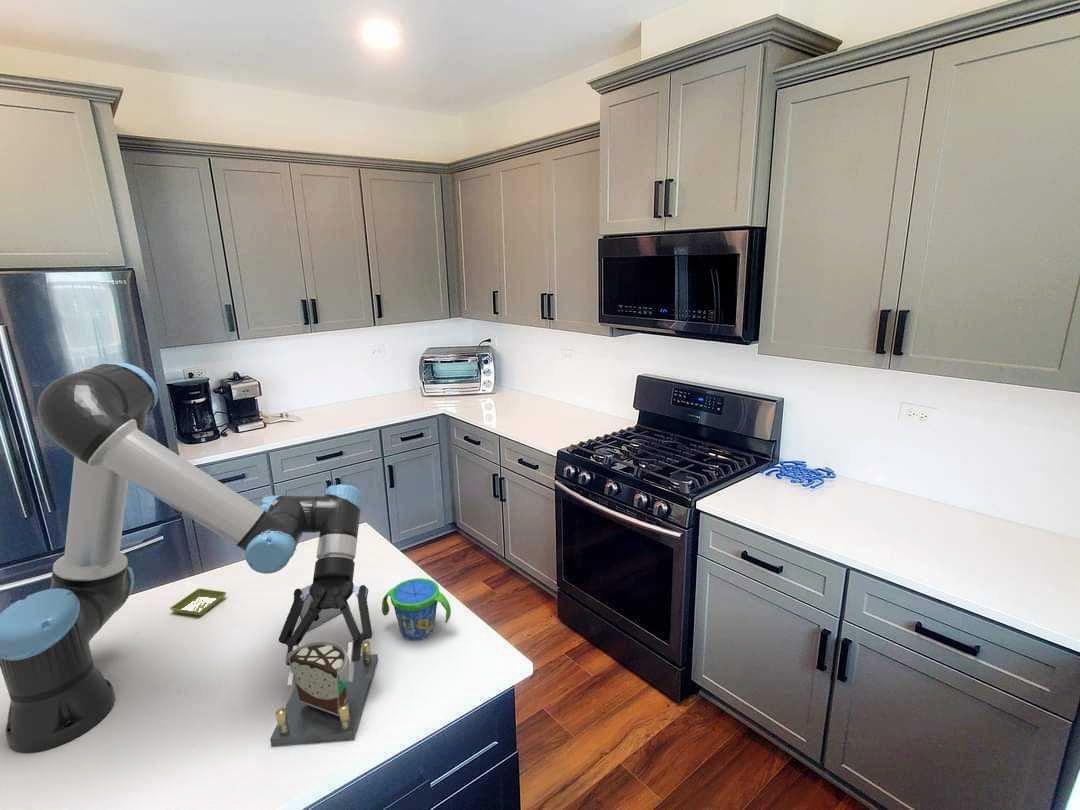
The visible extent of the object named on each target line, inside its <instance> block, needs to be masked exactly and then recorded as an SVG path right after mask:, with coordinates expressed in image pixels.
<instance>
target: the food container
mask: <svg viewBox="0 0 1080 810" xmlns="http://www.w3.org/2000/svg"><path fill="white" fill-rule="evenodd" d="M299 646H300V647H298V648H296V649H295V650H293V651H291V652H290V653H289V654H288V657H287V656H286V657H287V663H290V666H289V668H290V667H291V671H292V673H294V682H295V686H294V688H296V692H297V696H298V700H299V702H301V703H304V704H307V705H310V706H312V707H315V708H318V709H320V710H323V711H326V712H328V713H331V714H334V715H337V716H339V709H338V707H339V706H340V705H341V704H343V703H346V700H347V694H346V674H347V672H348V670H349V667H350V661H349V658H348V655H347V653H348V652H347V651H346V650H345V649H344V647H343V646H342V645H341V644H339V643H337V642H335V641H331V640H317V641H313V642H309V643H306V644H303V645H299Z"/></svg>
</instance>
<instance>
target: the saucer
mask: <svg viewBox="0 0 1080 810" xmlns="http://www.w3.org/2000/svg"><path fill="white" fill-rule="evenodd" d="M226 595H227V591H222V590H215V589H214V590H213V589H206V588H197V589H195V590H194V591H192V592H191V593H190V594H188V595H187V596H185V597H184V598H183V599H181V600H179V601H178V602H176V603H175V604H174V605H172V606H171V607H170V608H169V609H170V610H172V611H173V612H176V613H178V612H179V613H178V614H184V613H186V614H185V615H191V614H193V615H192V616H198V615H200V616H203V614H205V613H206V612H207V611H209V610H210V609H211V607H212V606H213V607H215V606H216V605H217V604H218V603H220V602H221V601H222V600H223V599H224V597H225V596H226ZM198 597H209V598H216V600H215V601H213V602H212V603H211V604H210V603H209V604H208V605H207V607H205V608H204V606H205V604H207V603H206V602H205V603H204V604H203V605H202V606H201V604H202V603H201V604H200V605H199V606H198V608H197V609H196V611H194V610H195V608H196V607H195V608H194V610H193V611H188V610H181V609H182V608H184V607H185V606H187V605H188V604H190V603H191V602H192V601H196V599H197V598H198ZM199 599H200V598H199ZM202 601H203V600H202ZM219 601H220V602H219ZM198 602H199V601H198ZM198 602H197V603H198ZM197 603H196V604H197ZM216 603H217V604H216ZM193 604H194V603H193ZM215 604H216V605H215ZM213 607H212V608H213ZM199 608H202V610H201V611H200V612H198V611H199ZM208 609H209V610H208ZM204 612H205V613H204Z"/></svg>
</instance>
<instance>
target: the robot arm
mask: <svg viewBox="0 0 1080 810" xmlns="http://www.w3.org/2000/svg"><path fill="white" fill-rule="evenodd" d="M158 400H159V391H158V386H157V385H156V382H155V381H154V379H153V378H152V377H151V376H150V375H149V374H148V373H147V372H146V371H145V370H144V369H141V368H140V367H138V366H137V365H133V364H131V363H126V362H111V363H107V362H106V363H101V364H97V365H95V366H93V367H91V368H88V369H84V370H82V371H79V372H75V373H71V374H66V375H63V376H61V377H59V378H56V379H55V380H53V381H52V382H50V383H49V384H48V385H47V386H46V387H45V388H44V389H43V390H42V393H41V394H40V396H39V399H38V402H37V408H36V409H37V412H36V413H37V416H38V420H39V423H40V425H41V426H42V428H43V430H44V431H45V433H46V434H47V436H49V437H50V438H51V439H52V440H53V441H54V442H55V443H56V444H57V445H58V446H59V447H61V448H63V449H64V450H65V451H66V452H67V453H68V454H70V455H72V456H73V466H72V468H73V469H72V474H71V475H72V477H71V485H70V487H71V488H70V495H69V496H70V498H69V507H68V516H67V517H68V518H67V525H66V537H65V538H66V539H65V544H64V545H65V548H64V555H62V556H60V557H59V558H58V559H57V560H56V561H55V562H54V563H53V566H52V573H51V580H50V581H51V582H50V583H51V584H50V588H49V589H44V590H41V591H37V592H34V593H32V594H29V595H27V596H26V598H24V599H18V600H17V601H15V602H14V603H12V604H10V605H9V606H8V607H6V608H5V609H4V610H3V611H1V613H0V670H1V674H2V676H3V680H4V682H5V686H6V689H7V692H8V695H9V699H10V703H9V709H8V715H7V724H6V727H5V735H6V740H7V743H8V745H9V747H10V748H11V749H13V750H14V751H16V752H20V753H33V752H41V751H46V750H48V749H52V748H55V747H58V746H60V745H64V744H65V743H68V742H70V741H72V740H74V739H76V738H77V737H80V736H82V735H83V734H85V733H86V732H88V731H89V730H91V729H92V728H94V727H95V726H96V725H97V724H99V723H100V722H101V721H102V720H103V719H104V718H105V717H106V716H107V715H108V713H110V711H111V710H112V709H113V706H114V705H115V701H116V696H115V695H116V694H115V691H114V687H113V685H112V683H111V682H110V681H109V680H108V679H107V678H105V677H104V675H103V674H102V673H101V671H100V669H99V668H97V667H96V666H95V663H94V660H93V655H92V650H91V648H90V647H91V646H90V641H92V639H93V638H94V637H95V635H96V634H97V633H99V631H100V630H101V629H102V628H103V626H105V625H106V623H107V622H108V621H109V620H110V619H111V618H112V616H113V615H114V614H115V613H116V612H118V611H119V610H120V609H121V608H122V607H123V606H124V604H125V603H127V602H126V601H127V600H128V599H129V596H130V595H131V593H132V591H133V589H134V585H135V574H134V571H133V569H132V567H129V565H128V557H127V556H126V554H124V553H122V552H121V547H122V546H121V545H122V536H123V528H124V521H125V513H126V512H125V511H126V503H127V493H128V486H129V482H130V483H132V484H133V485H135V486H136V487H138V488H139V489H142V490H144V491H145V492H146V493H149V494H150V495H152V496H153V497H155V498H156V499H158V500H160V501H162V502H163V503H165V504H166V505H168V506H170V507H171V508H173V509H175V510H177V511H179V512H180V513H182V514H183V515H185V516H187V517H189V518H190V519H192V520H193V521H194V522H197V523H198V524H200V525H201V526H203V527H204V528H207V529H208V530H210V531H212V532H213V533H215V534H217V535H218V536H220V537H222V538H223V539H225V540H226V541H228V542H230V543H232V544H234V545H235V546H236V547H238V548H240V549H241V550H243V551H244V556H245V561H246V563H247V564H248V566H249V567H250V569H251V570H252V571H255V572H257V573H260V574H267V575H268V574H275V573H277V572H279V571H281V570H283V569H284V568H285V567H286V566H287V565H288V564H289V561H290V560H291V559H292V558H293V557H294V554H295V553H296V550H297V546H298V543H299V541H300V539H301V537H302V536H303V533H306V534H309V533H314V534H315V533H316V534H317V533H319V535H318V544H317V551H316V561H315V564H314V569H313V570H314V572H313V578H312V579H313V580H312V583H311V584H312V585H311V584H310V585H311V587H310V588H309V589H303V590H300V589H301V588H296V589H294V592H293V593H294V594H293V602H292V604H291V606H290V609H289V612H288V614H287V617H286V620H285V622H284V624H283V627H282V629H281V631H280V635H279V637H278V642H279V643H281V644H284V645H286V646H287V651H286V652H287V653H286V658H285V665H286V666H288V667H289V673H288V679H287V686H290V687H295V682H294V673H292V671H291V667H290V663H287V657H288V654H289V653H290V652H291V651H293V650H295V649H296V648H298V647H300V646H301V645H300V643H301V641H302V640H303V639H304V637H305V636H306V634H307V632H308V631H309V630H308V629H309V628H310V626H311V624H312V623H313V621H314V620H315V618H316V616H317V615H318V614H319V613H320V612H321V610H322V609H323V610H324V609H330V608H334V609H339V608H340V610H341V614H342V617H343V619H344V621H345V624H346V626H347V628H348V631H349V633H350V635H351V639H352V641H353V642H352V641H351V642H348V644H347V652H346V653H347V655H348V658H349V661H350V667H349V670H348V672H347V674H346V682H353V672H354V662H357V661H359V660H360V655H362V653H361V652H362V646H361V645H362V642H364V641H368V640H371V639H372V638H373V632H372V631H373V630H372V624H371V618H370V612H369V611H370V610H369V606H368V595H369V588H368V587H367V586H366V585H365V584H361V585H360V586H358V585H356V586H355V584H354V576H355V575H354V573H355V565H356V564H355V561H354V560H355V559H356V554H357V544H358V533H359V525H360V519H361V518H360V517H361V509H362V508H361V507H362V504H361V503H362V493H361V491H360V490H359V489H358V488H357V487H356V486H353V485H349V484H342V483H341V484H340V483H339V484H337V485H336V484H335V485H334V484H333V485H330V486H328V487H327V488H326V489H325V493H323V495H316V496H315V495H313V496H309V495H286V494H278V495H266V496H264V497H263V498H262V499H261V501H260V502H259V506H257V505H256V504H254V503H253V502H251V501H250V500H249V499H247V498H245V497H244V496H243V495H241V494H239V493H238V492H236V491H235V490H233V489H231V487H228V486H227V485H225V484H224V483H222V482H220V481H219V480H217V479H216V478H214V477H213V476H211V475H210V474H209V473H207V472H205V471H203V470H202V469H201V468H199V467H197V466H196V465H194V464H192V463H191V462H189V461H188V460H186V459H185V458H183V457H181V456H180V455H178V454H177V453H176V452H175V451H172V450H171V449H170V448H168V447H166V446H164V445H163V444H161V443H160V442H158V441H157V440H155V439H154V438H152V437H150V436H149V435H148V434H146V433H145V426H146V420H147V415H150V413H152V411H153V410H154V409H155V407H156V405H157V404H158ZM354 593H355V598H357V604H358V610H359V611H358V612H359V617H360V624H361V630H362V632H361V631H360V630H359V627H358V624H357V622H356V620H355V617H354V616H353V613H352V611H351V607H350V605H349V602H348V600H349V599H350V597H351V596H352V595H353V594H354ZM309 595H311V597H312V598H313V602H312V603H311V605H310V606H309V609H308V611H307V613H306V614H305V616H304V617H303V619H302V621H301V620H300V622H299V624H298V625H297V623H298V620H299V619H300V613H301V611H302V608H303V605H304V601H306V600H307V597H308V596H309ZM296 625H297V627H296Z"/></svg>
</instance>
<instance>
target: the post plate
mask: <svg viewBox="0 0 1080 810" xmlns="http://www.w3.org/2000/svg"><path fill="white" fill-rule="evenodd" d="M361 652H362V653H361V655H360V660H359V661H357V662H354V672H353V682H346V694H347V700H346V703H343V704H341V705H340V706H339V707H338V709H339V716H337V715H334V714H331V713H328V712H326V711H323V710H320V709H318V708H315V707H312V706H310V705H307V704H304V703H301V702H299V700H298V696H297V692H296V688H295V687H294V688H293V690H292V693H291V694H290V697H289V699H288V701H287V703H286V706H285V707H280V708H278V709H277V710H276V711H275V716H276V723H277V724H276V726H275V728H274V729H273V732H272V734H271V736H270V738H269V740H270V746H271V747H278V746H293V745H304V744H306V745H307V744H316V743H317V744H319V743H320V744H321V743H331V742H344V741H354V740H355V738H356V735H357V731H358V728H359V724H360V721H361V718H362V715H363V712H364V708H365V705H366V701H367V698H368V695H369V691H370V689H371V685H372V681H373V679H374V675H375V671H376V669H377V665H378V662H379V655H378V653H375V654H372V653H371V646H370V640H365V641H363V642H362V645H361Z"/></svg>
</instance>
